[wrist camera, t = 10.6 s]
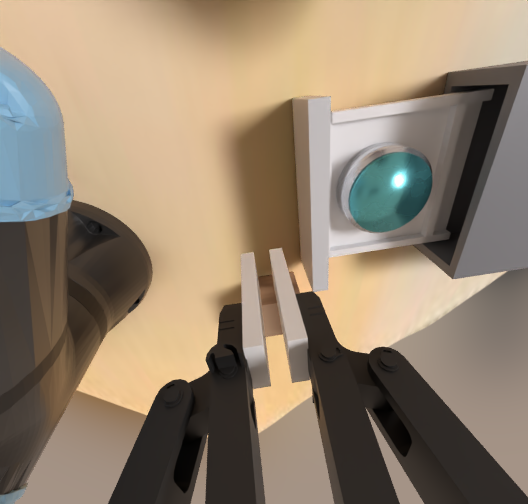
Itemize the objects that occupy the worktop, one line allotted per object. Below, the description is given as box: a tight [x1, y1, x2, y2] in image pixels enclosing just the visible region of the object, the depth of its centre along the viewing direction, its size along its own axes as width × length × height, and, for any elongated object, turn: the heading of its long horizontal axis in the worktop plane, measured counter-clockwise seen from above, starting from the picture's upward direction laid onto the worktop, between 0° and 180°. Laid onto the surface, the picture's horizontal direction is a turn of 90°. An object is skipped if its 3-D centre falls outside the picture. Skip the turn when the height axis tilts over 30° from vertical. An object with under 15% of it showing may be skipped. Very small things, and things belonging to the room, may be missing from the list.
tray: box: [292, 89, 494, 292], centre depth 24 cm, size 16×17×6 cm
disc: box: [336, 142, 433, 233], centre depth 24 cm, size 8×8×3 cm
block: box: [258, 272, 300, 337], centre depth 31 cm, size 5×5×5 cm
